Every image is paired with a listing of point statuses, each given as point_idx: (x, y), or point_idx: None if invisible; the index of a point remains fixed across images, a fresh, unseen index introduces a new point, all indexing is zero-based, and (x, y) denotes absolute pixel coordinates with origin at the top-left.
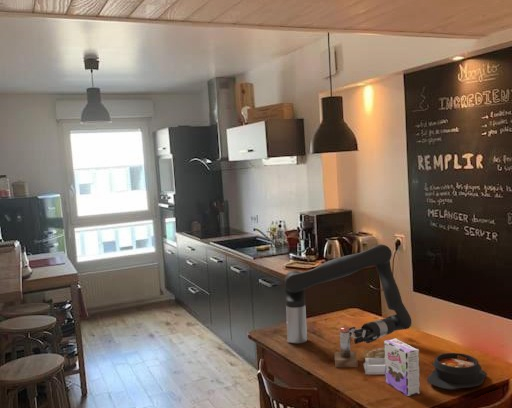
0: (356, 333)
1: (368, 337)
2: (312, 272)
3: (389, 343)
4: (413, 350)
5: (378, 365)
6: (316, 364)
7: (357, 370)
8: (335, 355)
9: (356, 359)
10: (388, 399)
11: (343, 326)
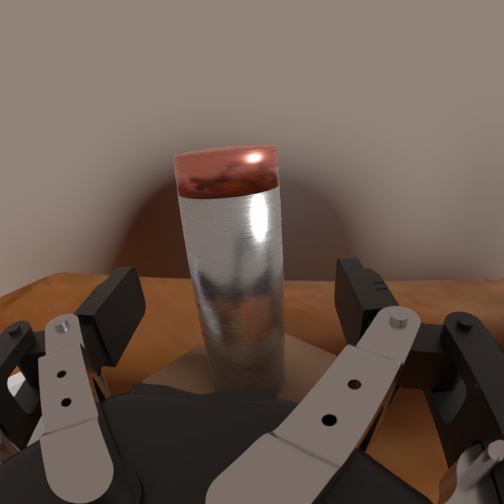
0: (244, 398)
1: (5, 330)
2: None
3: None
4: None
5: (17, 377)
6: (335, 312)
7: (134, 382)
8: (301, 344)
9: (149, 382)
10: (6, 302)
11: (268, 147)
